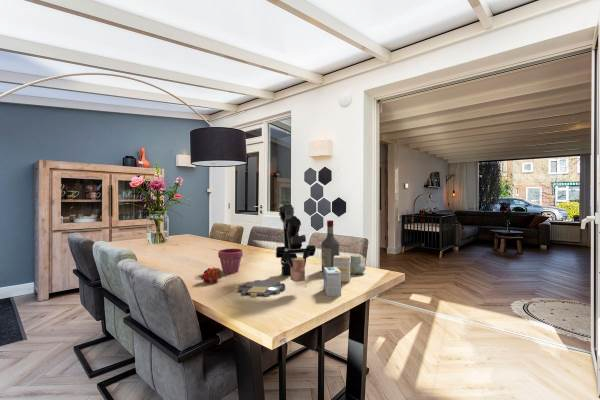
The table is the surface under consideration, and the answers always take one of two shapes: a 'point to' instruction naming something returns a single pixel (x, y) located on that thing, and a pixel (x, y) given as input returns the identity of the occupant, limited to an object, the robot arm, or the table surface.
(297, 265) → the link block
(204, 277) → the dragon fruit
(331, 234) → the liquor
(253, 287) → the timing wheel
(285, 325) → the table surface
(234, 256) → the plant pot
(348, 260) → the supplement box
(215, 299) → the table surface
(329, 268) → the light bulb box
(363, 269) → the air freshener
